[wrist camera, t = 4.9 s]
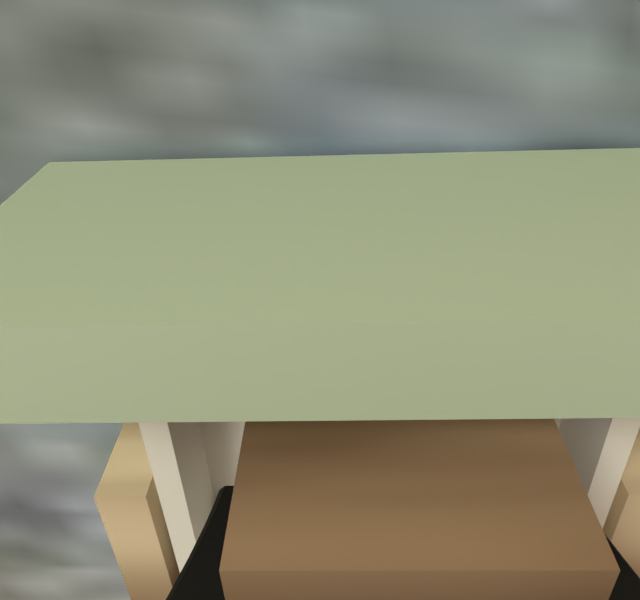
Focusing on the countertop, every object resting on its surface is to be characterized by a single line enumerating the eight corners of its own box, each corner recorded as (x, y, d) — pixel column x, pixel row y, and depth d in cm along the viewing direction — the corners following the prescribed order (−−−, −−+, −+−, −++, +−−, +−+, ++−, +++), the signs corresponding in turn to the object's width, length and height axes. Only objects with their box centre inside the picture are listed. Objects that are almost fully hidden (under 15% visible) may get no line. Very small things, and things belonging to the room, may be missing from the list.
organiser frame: (558, 605, 21) (601, 737, 18) (186, 604, 21) (159, 733, 18) (627, 400, 16) (708, 534, 12) (131, 405, 16) (77, 535, 13)
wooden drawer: (608, 489, 17) (717, 717, 12) (145, 492, 18) (74, 711, 13) (731, 145, 12) (1015, 313, 7) (49, 161, 12) (-142, 330, 7)
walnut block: (485, 501, 14) (548, 745, 10) (278, 502, 14) (255, 742, 10) (516, 332, 12) (620, 570, 7) (260, 335, 12) (218, 570, 8)
